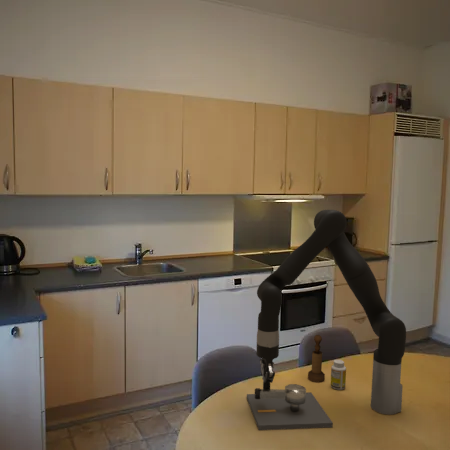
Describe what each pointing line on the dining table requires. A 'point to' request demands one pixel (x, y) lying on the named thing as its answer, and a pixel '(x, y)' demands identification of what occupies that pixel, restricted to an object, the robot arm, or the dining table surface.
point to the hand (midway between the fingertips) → (266, 391)
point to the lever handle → (285, 395)
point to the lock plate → (288, 414)
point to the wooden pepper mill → (316, 363)
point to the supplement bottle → (338, 375)
